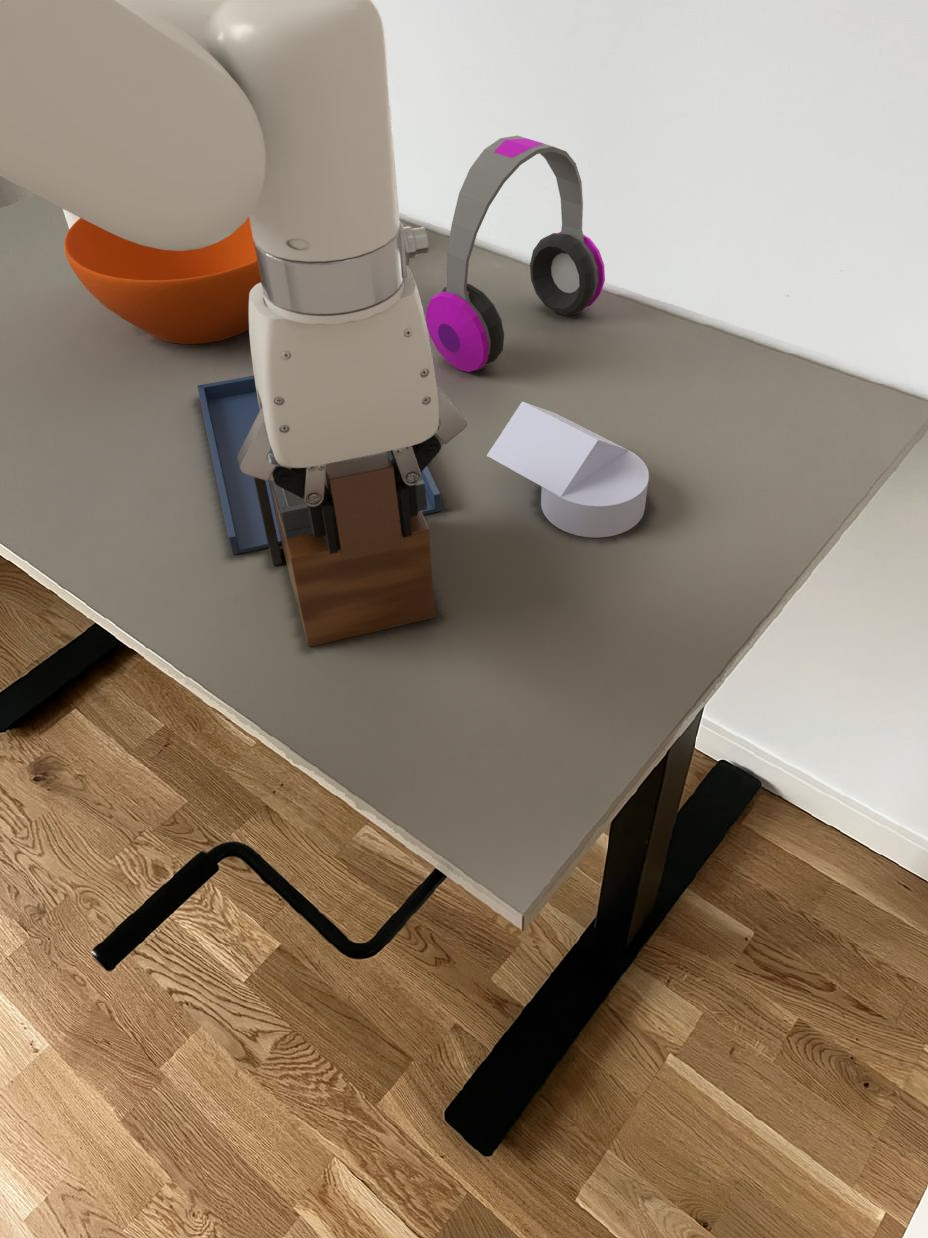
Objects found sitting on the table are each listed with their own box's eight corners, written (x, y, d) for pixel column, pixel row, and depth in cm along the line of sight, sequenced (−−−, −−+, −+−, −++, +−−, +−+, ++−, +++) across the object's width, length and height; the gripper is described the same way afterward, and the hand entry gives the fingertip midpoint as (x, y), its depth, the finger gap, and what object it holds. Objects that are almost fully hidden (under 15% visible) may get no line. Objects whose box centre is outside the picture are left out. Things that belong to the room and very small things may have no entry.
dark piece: (448, 550, 65) (440, 457, 61) (299, 583, 63) (280, 489, 59) (389, 435, 78) (379, 353, 74) (264, 460, 76) (246, 376, 72)
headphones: (548, 289, 114) (555, 104, 100) (609, 314, 110) (625, 123, 95) (420, 360, 104) (407, 164, 90) (480, 390, 99) (477, 189, 85)
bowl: (60, 372, 104) (28, 282, 97) (125, 264, 122) (102, 181, 114) (297, 371, 103) (282, 280, 96) (327, 262, 121) (317, 178, 113)
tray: (441, 511, 86) (440, 493, 85) (232, 555, 82) (228, 537, 81) (376, 369, 103) (375, 353, 101) (201, 401, 99) (197, 385, 98)
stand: (448, 614, 77) (443, 514, 70) (294, 650, 75) (272, 550, 67) (409, 520, 85) (401, 422, 78) (269, 549, 83) (247, 451, 76)
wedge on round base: (486, 486, 88) (599, 552, 82) (486, 422, 83) (605, 487, 77) (553, 443, 93) (665, 502, 86) (556, 380, 88) (675, 438, 81)
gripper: (462, 212, 56) (470, 473, 69) (162, 260, 53) (230, 525, 66) (505, 269, 51) (505, 539, 64) (177, 326, 47) (247, 599, 60)
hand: (365, 529), depth 64 cm, fingers closed on dark piece, 4 cm apart
